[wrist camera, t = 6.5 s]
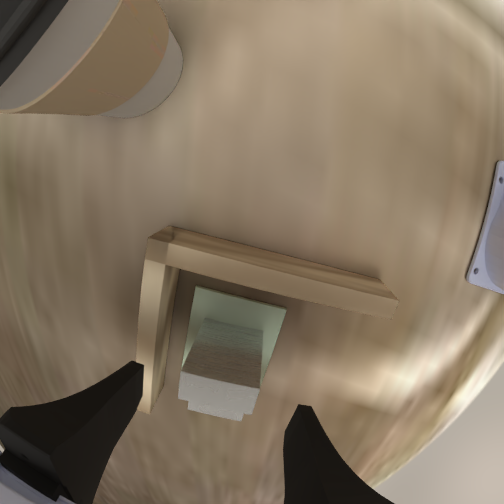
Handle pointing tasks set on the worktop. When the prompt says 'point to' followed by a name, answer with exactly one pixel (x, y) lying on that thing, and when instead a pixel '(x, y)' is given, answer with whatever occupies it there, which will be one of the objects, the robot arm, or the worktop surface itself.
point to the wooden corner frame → (231, 306)
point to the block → (223, 370)
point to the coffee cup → (86, 57)
